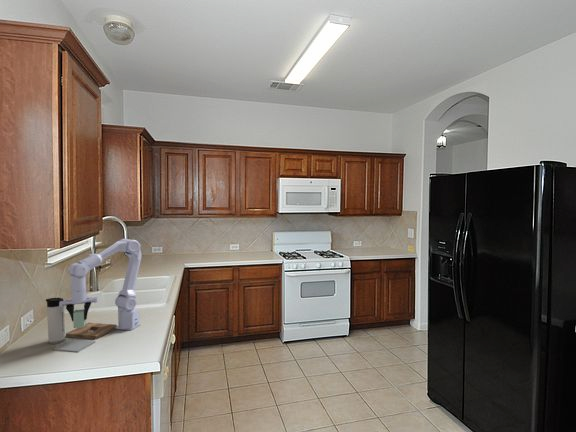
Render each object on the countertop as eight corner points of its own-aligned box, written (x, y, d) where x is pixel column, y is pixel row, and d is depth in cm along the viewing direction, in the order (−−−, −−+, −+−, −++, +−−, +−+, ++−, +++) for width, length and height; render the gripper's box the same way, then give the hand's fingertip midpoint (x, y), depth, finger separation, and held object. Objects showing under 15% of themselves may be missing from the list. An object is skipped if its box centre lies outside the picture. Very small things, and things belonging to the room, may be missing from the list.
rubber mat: (95, 342, 154) (95, 341, 154) (78, 352, 144) (77, 351, 144) (72, 340, 156) (72, 339, 156) (53, 350, 146) (53, 348, 146)
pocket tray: (116, 327, 171) (116, 324, 171) (96, 339, 157) (96, 336, 157) (88, 325, 173) (88, 322, 173) (66, 336, 160) (65, 333, 160)
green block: (85, 324, 157) (85, 309, 156) (83, 327, 153) (83, 311, 153) (75, 325, 155) (75, 309, 155) (73, 328, 151) (73, 312, 151)
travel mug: (45, 341, 154) (43, 298, 153) (62, 337, 159) (60, 295, 158) (50, 345, 150) (48, 301, 149) (67, 340, 155) (65, 297, 154)
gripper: (97, 286, 160) (98, 314, 160) (61, 289, 154) (62, 319, 154) (96, 289, 153) (97, 319, 154) (57, 293, 147) (59, 324, 148)
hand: (79, 319), depth 154 cm, fingers closed on green block, 4 cm apart
